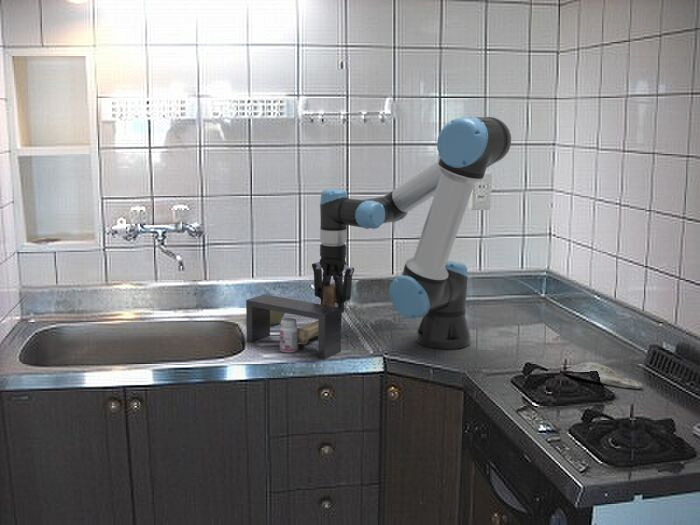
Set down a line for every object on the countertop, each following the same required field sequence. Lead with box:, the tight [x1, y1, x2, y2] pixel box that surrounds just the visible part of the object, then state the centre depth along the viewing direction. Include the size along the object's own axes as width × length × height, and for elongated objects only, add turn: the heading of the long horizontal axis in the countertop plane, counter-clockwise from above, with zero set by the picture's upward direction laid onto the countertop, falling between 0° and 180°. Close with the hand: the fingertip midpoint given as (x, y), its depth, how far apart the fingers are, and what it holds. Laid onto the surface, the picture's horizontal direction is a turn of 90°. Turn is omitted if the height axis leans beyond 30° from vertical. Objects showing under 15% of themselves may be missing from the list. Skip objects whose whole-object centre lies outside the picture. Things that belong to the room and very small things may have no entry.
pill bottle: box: [279, 317, 299, 353], centre depth 203 cm, size 5×5×8 cm
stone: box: [567, 361, 644, 390], centre depth 187 cm, size 20×4×10 cm
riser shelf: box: [245, 293, 343, 360], centre depth 206 cm, size 26×8×12 cm, turn 58°
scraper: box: [297, 283, 337, 345], centre depth 214 cm, size 7×21×12 cm, turn 148°
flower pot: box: [270, 295, 286, 326], centre depth 229 cm, size 10×10×7 cm
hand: (332, 322), depth 222 cm, fingers closed on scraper, 3 cm apart
